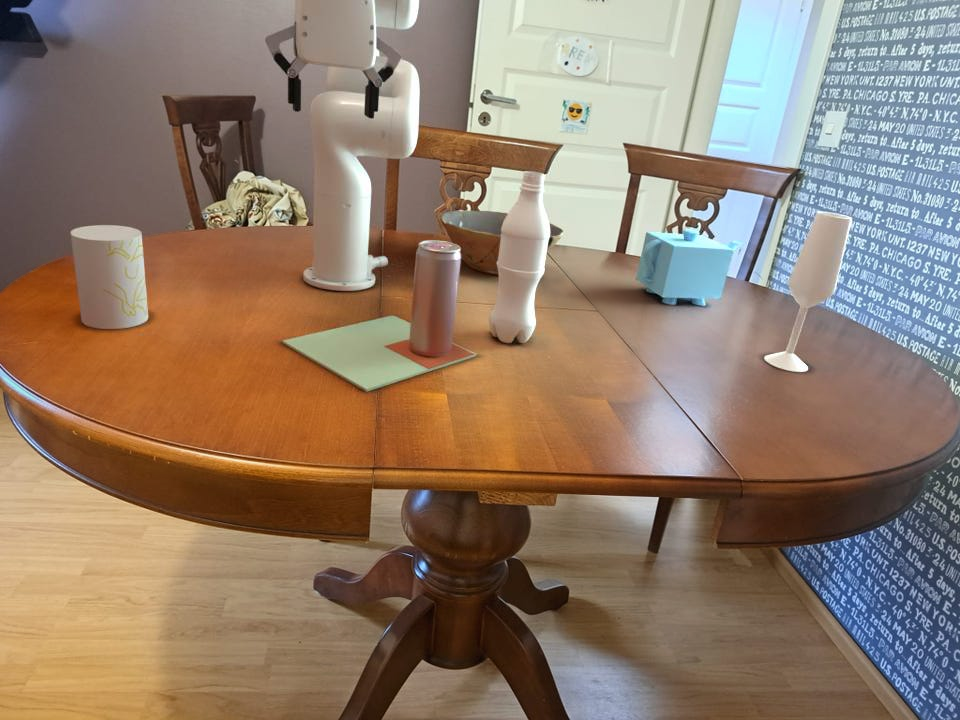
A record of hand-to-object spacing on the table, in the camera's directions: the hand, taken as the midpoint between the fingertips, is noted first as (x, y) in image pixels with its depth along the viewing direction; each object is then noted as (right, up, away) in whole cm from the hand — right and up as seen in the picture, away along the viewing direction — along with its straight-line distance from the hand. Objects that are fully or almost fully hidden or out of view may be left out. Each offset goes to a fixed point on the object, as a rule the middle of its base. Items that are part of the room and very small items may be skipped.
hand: (333, 113), depth 89 cm
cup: (-31, -27, +3) cm, 41 cm away
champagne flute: (+69, -34, +18) cm, 79 cm away
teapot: (+61, -20, +47) cm, 80 cm away
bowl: (+23, -14, +49) cm, 56 cm away
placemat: (+6, -32, +3) cm, 32 cm away
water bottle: (+24, -30, +14) cm, 41 cm away
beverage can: (+13, -32, +4) cm, 34 cm away
